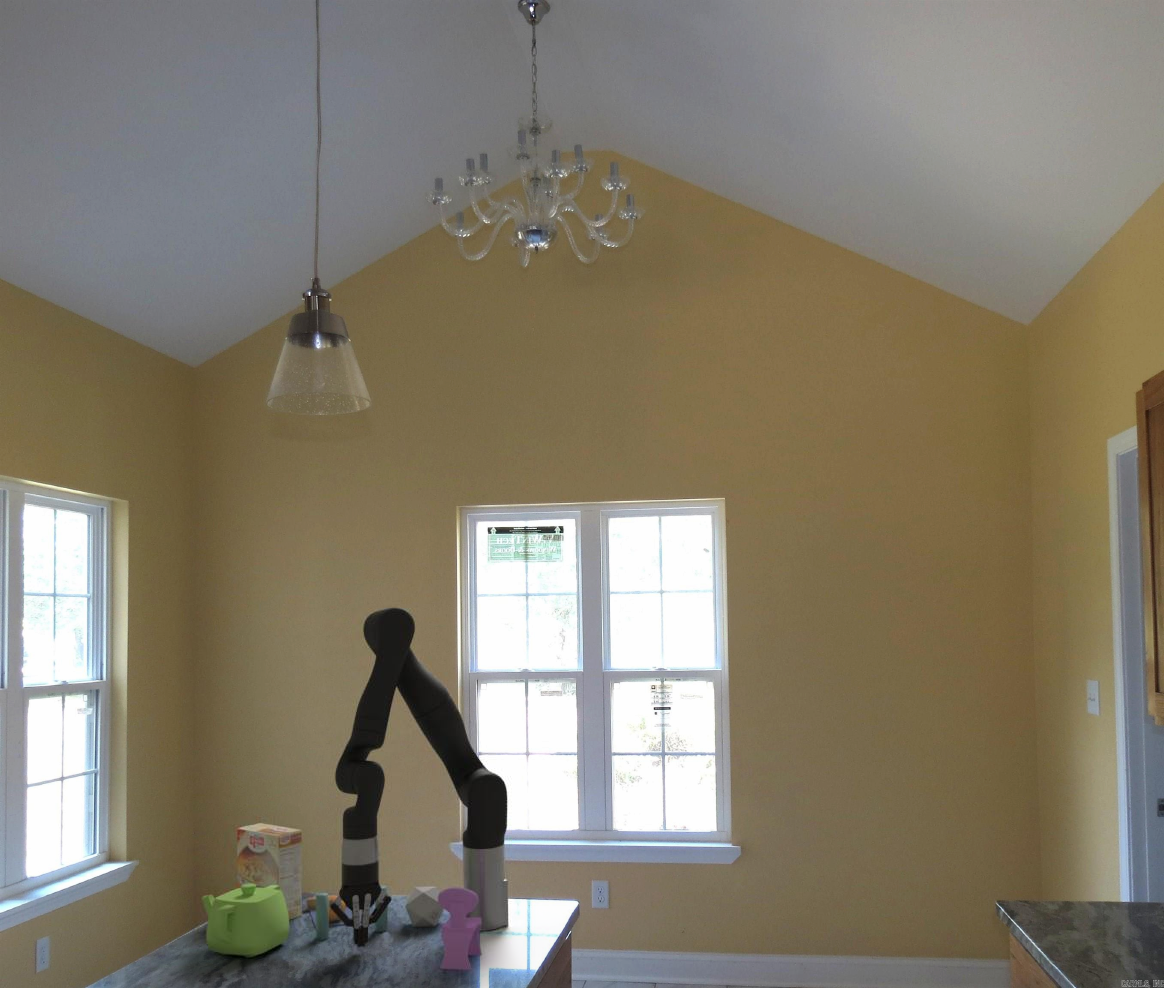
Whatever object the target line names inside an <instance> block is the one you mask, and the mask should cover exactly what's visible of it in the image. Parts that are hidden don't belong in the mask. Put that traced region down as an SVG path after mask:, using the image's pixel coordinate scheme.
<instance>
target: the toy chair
mask: <svg viewBox="0 0 1164 988" xmlns="http://www.w3.org/2000/svg"><path fill="white" fill-rule="evenodd" d="M439 892H440V893H439V895H438V903H439V904H440V906H441V907H443V908H444V910H446V912H448V913H449V915H450V917H449V919H448V920H447V921H446V922H445V923H444V924H443V925H442V926H441V934H440V936H441V940H442V943H443V946H444V954H443V958H442V962H441V964H440V966H439V969H442V970H444V969H445V970H464V971H465V970H466V971H468V970H472V966H471V964H470V960H469V956H483V952H482V949H481V945H480V940H479V939H480V936H479V935H480V929H481V926H482V922H481V917H472V918H466V915H467V914H468V913H470V912H471V911H473V910H474V908H475V907H476V906H477V904H478V901H479V898H478V895H477V894H476V893H475V892H473V891H471V890H469V889H466V888H463V887H461V886H460V887H459V886H458V887H456V886H454V887H451V886H450V887H447V888H445V889H443V890H442V891H439Z"/></svg>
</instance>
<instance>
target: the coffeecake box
mask: <svg viewBox="0 0 1164 988" xmlns="http://www.w3.org/2000/svg"><path fill="white" fill-rule="evenodd" d="M302 831H303V830H302V829H298V828H292V827H286V826H282V825H281V826H280V825H274V824H268V823H262V822H260V823H258V822H257V823H254V824H250V825H244V826H242V827H237V845H236V847H237V849H236V850H237V851H236V852H237V857H236V859H237V861H236V862H237V864H236V874H237V876H236V877H237V880H236V882H237V883H236V885H237V886H236V889H237V888H241V886H242V885H244V884H250V883H252V884H256V888H266V887H268V886H270V885H279V886H280V891H282V893H283V896H284V899H285V903H286V906H287V911H288V917H289V921H290V920H294V919H296V918H298V917H299V918H300V917H302V913H303V911H302V909H303V908H302V898H303V893H302V891H303V890H302V883H303V882H302V880H303V879H302V874H303V873H302V867H303V866H302V859H303V858H302V855H303V853H302V847H303V846H302V838H303V837H302V836H303V835H302Z"/></svg>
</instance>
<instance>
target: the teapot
mask: <svg viewBox="0 0 1164 988" xmlns="http://www.w3.org/2000/svg"><path fill="white" fill-rule="evenodd" d="M201 900H202V904H203V906H204V909H205V911H206V913H207V917H208V919H207V920H208V921H207V925H206V926H207V927H206V935H205V940H206V944H207V946H208V949H209V950H210V952H214V953H218V954H219V953H220V954H221V955H233V956H235V955H236V956H244V957H245V958H254V957H256V956H258V955H261V954H264V953H266V952H268V951H270V950H272V949H273V948H274V949H275V948H276V947H278V946H280V945H281V944H283V943H284V942H286V941H287V938H288V935H289V933H290V920H289V917H288V911H287V906H286V903H285V899H284V896H283V893H282V891H280V886H279V885H270V886H268V887H266V888H256V884H252V883H250V884H244V885H242V886H241V888H237V887H236V888H235V889H233V890H230V891H228V892H225V893H223V894H221V895H219V896H216V897H214V896H213V894H210V895H209V894H208V895H204V896H202V897H201Z"/></svg>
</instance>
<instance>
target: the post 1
mask: <svg viewBox="0 0 1164 988" xmlns="http://www.w3.org/2000/svg"><path fill="white" fill-rule="evenodd" d="M329 895H330V894H329V893H328V892H321V893H317V894H316V895H315V897H316V928H315V939H316V940H317V941H324V940H327V939H330V938H329V937H330V936H329V935H330V934H329V932H330V930H329V928H330V927H329Z"/></svg>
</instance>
